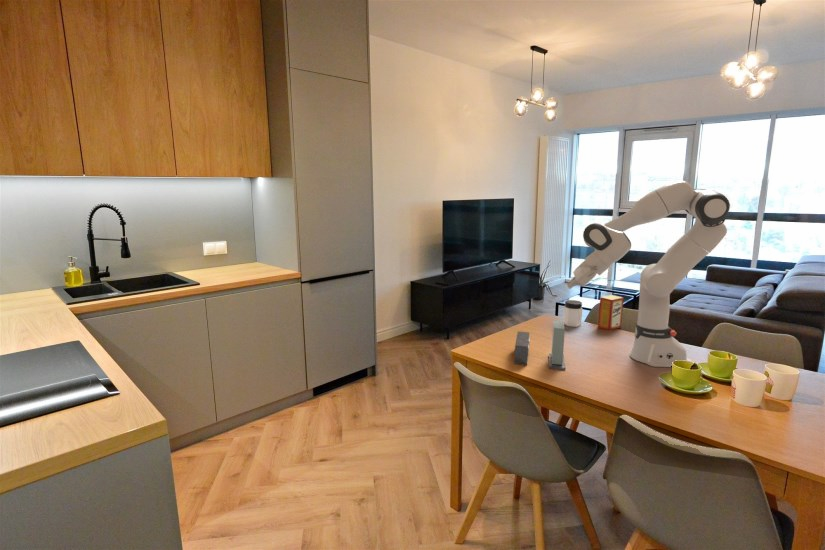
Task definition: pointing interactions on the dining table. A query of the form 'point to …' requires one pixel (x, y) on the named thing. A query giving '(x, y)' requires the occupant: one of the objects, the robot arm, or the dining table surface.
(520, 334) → the block
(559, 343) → the block
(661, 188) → the robot arm
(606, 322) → the baking soda box
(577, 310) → the jar
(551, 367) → the rail
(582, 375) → the dining table surface
